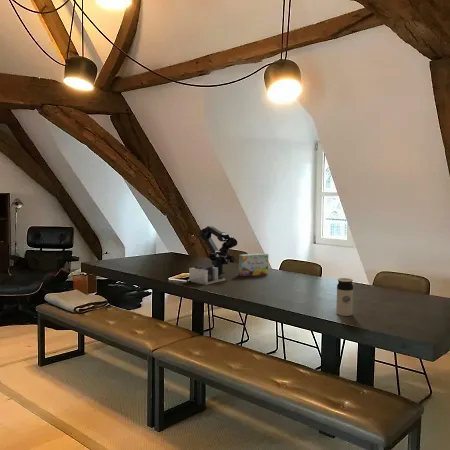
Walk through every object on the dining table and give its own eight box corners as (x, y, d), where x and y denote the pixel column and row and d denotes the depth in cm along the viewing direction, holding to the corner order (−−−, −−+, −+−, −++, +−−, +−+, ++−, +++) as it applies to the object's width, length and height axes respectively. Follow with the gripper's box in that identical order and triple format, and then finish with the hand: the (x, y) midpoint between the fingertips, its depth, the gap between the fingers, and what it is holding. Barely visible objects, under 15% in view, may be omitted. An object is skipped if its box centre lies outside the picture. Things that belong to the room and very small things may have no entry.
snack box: (241, 276, 351) (242, 255, 350) (238, 275, 356) (238, 254, 355) (268, 274, 360) (268, 253, 358) (264, 273, 365) (264, 252, 363)
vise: (207, 277, 348) (207, 264, 347) (225, 280, 337) (225, 267, 336) (187, 281, 334) (187, 267, 333) (206, 284, 323) (206, 271, 322)
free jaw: (203, 278, 343) (204, 265, 342) (218, 280, 335) (218, 267, 334) (200, 278, 341) (200, 266, 340) (214, 281, 332) (214, 268, 331)
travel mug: (336, 311, 259) (337, 277, 257) (352, 312, 257) (353, 278, 255) (335, 315, 251) (336, 280, 250) (352, 316, 249) (353, 281, 248)
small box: (194, 281, 334) (194, 265, 333) (200, 279, 340) (200, 264, 339) (206, 283, 328) (206, 267, 327) (212, 281, 333) (213, 266, 332)
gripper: (240, 257, 354) (233, 275, 346) (217, 255, 363) (209, 273, 354) (235, 247, 346) (227, 266, 338) (211, 246, 355) (204, 263, 347)
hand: (217, 267), depth 344 cm, fingers closed
